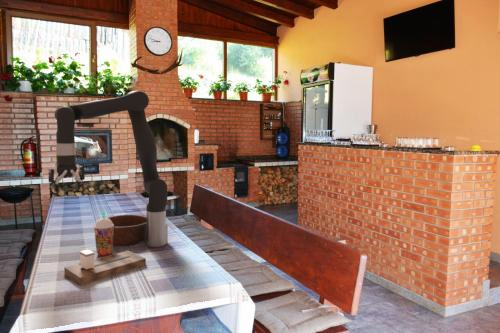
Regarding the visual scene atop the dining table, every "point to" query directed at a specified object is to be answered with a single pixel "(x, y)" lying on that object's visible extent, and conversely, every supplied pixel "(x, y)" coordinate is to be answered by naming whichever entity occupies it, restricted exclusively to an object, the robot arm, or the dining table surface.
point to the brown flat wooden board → (105, 267)
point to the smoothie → (104, 236)
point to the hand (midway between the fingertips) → (67, 191)
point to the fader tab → (87, 259)
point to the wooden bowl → (129, 229)
